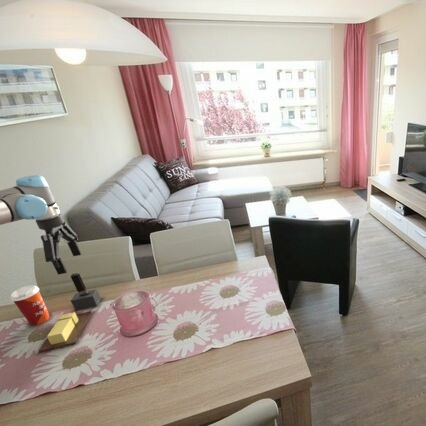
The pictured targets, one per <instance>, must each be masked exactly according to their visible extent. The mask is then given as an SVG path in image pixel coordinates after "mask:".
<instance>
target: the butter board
mask: <svg viewBox="0 0 426 426" xmlns="http://www.w3.org/2000/svg"><path fill="white" fill-rule="evenodd" d="M75 314H76V316H77V318H78V322H77V323H76V324H74V325H75V327H74V328H73V330H72V332H71V333H70V335H69V337H68V338H67V340H66V341H65V342H61V343H57V344H53V345H51V343H50V342H49V340H48V338H47V337H46V339H45V340H44V342H43V343H42V344H41V346H40V347H39V349H38V352H39V353H44V352H48V351H52V350H56V349H60V348H65V347H68V346H69V347H70V346H73V345H76V344H77V342H78V341H79V339H80V336H81V335H82V333H83V331H84V330H85V327H86V326H87V324H88V322H89V320H90V318H91V317H92V314H93V311H92V310H90V311H86V312H81V313H75Z"/></svg>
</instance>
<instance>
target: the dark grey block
mask: <svg viewBox="0 0 426 426" xmlns="http://www.w3.org/2000/svg"><path fill="white" fill-rule="evenodd" d="M87 293H88V295H85V296H80V294H79V292H76V293H74V295H73V296H72V298H71V300H70V303H71V304H72V307H73V309H74V310H75V311H76V312H77V311H82V310H86V309H91V308H95V307H98V306H99V304H100V302H101V300H102V297H101V295H100V293H99V290H98V289H97V288H96V289H91V290H87ZM75 311H74V312H75Z"/></svg>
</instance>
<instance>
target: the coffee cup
mask: <svg viewBox="0 0 426 426" xmlns="http://www.w3.org/2000/svg"><path fill="white" fill-rule="evenodd" d="M10 294H11V295H10V301H12V302H13V303H14V305H15V306H16V307H17V308H18V309H19V311H20V312H21V314H22V315H23V317H24V318H25V319H26V321H27V322H28V323H29V325H30V326H32V327H35V326H36V327H37V326H38V325H42V324H44V323H45V322H47V321H48V320H49V319H50V317H51V315H50V313H49V311H48V309H47V306H46V304H45V302H44V299H43V297H42V295H41V292H40V288H39V287H38V286H36V285H34V284H31V285H26V286H21V287H20V288H18V289H16V290H14V291H13V292H12V293H10Z"/></svg>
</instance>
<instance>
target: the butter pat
mask: <svg viewBox="0 0 426 426" xmlns="http://www.w3.org/2000/svg"><path fill="white" fill-rule="evenodd" d="M76 314H77V313H76V312H75V311H73V312H69V313H65V314H61V315H60V316H59V318H58V321H61V320H65V319H70V318H71V319H72V321H73V323H74V324H76V323H77V322H78V318H77V316H76Z"/></svg>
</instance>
